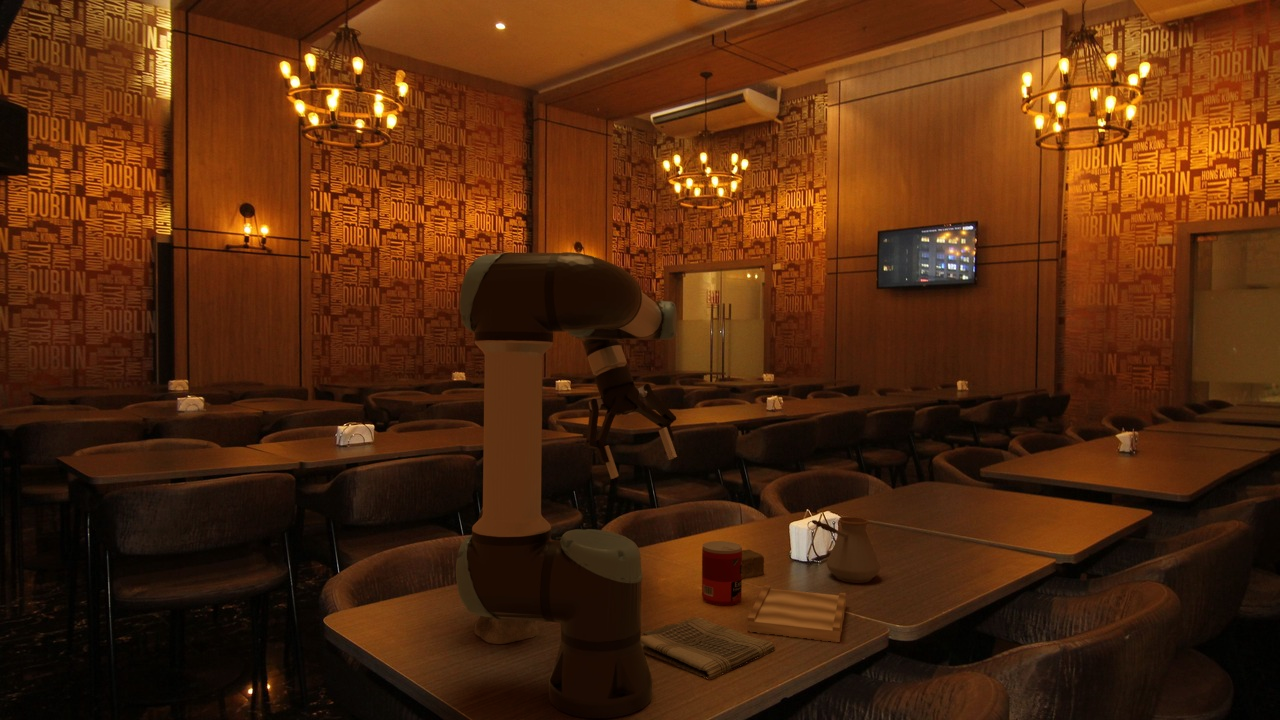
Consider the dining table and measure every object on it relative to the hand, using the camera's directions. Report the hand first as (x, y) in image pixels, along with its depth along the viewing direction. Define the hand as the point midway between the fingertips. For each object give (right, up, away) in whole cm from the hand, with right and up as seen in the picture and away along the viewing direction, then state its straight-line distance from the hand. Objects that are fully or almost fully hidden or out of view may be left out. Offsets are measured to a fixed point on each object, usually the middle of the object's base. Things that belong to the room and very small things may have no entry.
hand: (644, 468), depth 160 cm
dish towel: (+10, -27, -28) cm, 40 cm away
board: (+29, -27, -13) cm, 41 cm away
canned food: (+16, -26, -2) cm, 31 cm away
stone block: (+21, -26, +15) cm, 37 cm away
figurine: (-25, -27, -21) cm, 42 cm away
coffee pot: (+43, -26, +10) cm, 51 cm away
